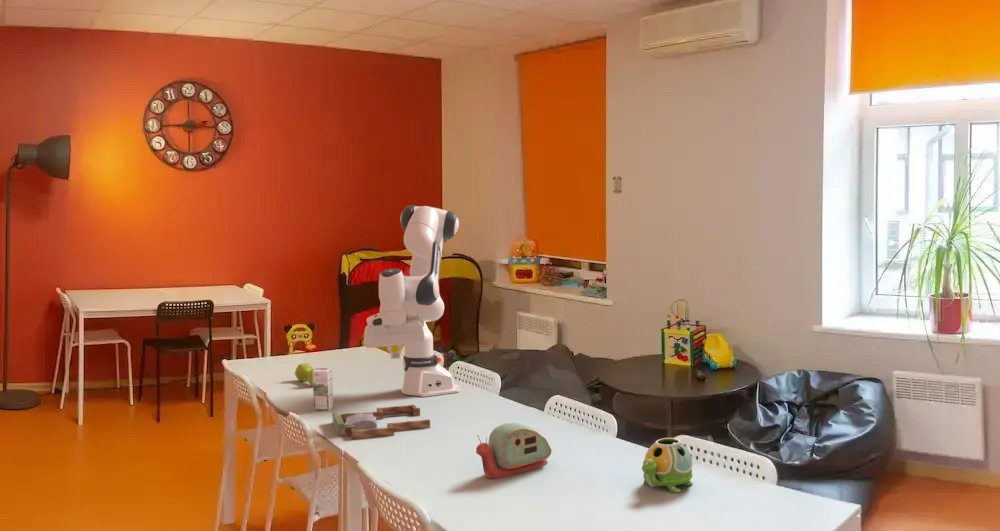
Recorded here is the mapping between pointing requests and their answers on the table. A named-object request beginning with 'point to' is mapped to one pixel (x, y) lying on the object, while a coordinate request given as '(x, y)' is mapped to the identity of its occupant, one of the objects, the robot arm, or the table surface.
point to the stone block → (362, 421)
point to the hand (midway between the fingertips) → (395, 358)
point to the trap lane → (380, 414)
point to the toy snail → (513, 450)
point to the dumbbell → (305, 373)
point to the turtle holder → (667, 465)
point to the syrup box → (322, 388)
